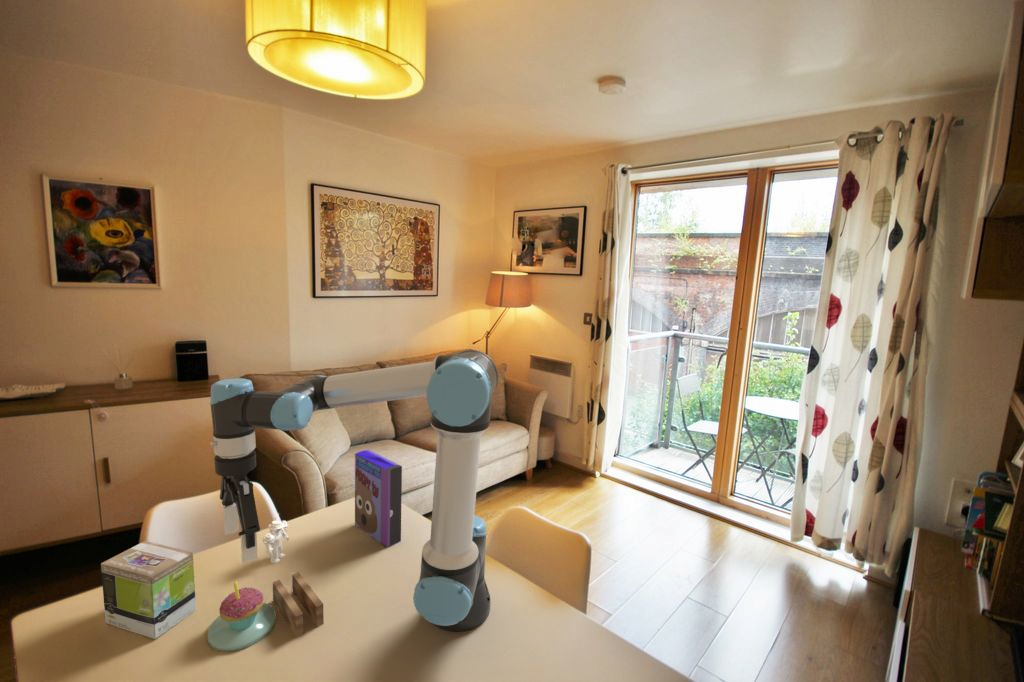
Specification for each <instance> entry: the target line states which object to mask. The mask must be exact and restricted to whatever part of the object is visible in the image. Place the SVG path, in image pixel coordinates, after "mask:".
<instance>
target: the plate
mask: <svg viewBox="0 0 1024 682" xmlns="http://www.w3.org/2000/svg"><path fill="white" fill-rule="evenodd" d="M275 623H276V610H275V609H274V607H273V606H271V605H270V604H268V603H265V602H263V606H262V607H261V608H260V610H259V611H258V612H257V615H256V618H255V621H254V623H253V624H252V625H251V626H250V627H248V628H246V629H244V630H240V631H235V630H232V629H231V628H230V625H229V623H228V622H226V621H225V620H222V619H221V617H220V615H219V616H217V617H216V618H215V620H213V622H212V623H211V624H210V626H209V627H208V630H207V642H208V645H209V647H211V649H214V650H215V651H218V652H234V651H235V652H236V651H240V650H244V649H246V648H249V647H250V646H253V645H254V644H257V643H259V641H261V640H263V639H264V638H265V637H266V636H268V634H269V633H270V632H271V631H272V630H273V627H274V626H275Z"/></svg>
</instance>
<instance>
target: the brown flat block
mask: <svg viewBox="0 0 1024 682" xmlns="http://www.w3.org/2000/svg"><path fill="white" fill-rule="evenodd" d="M291 580H292V581H291V582H292V586H291V587H292V588H291V589H292V594H293V595H294V596H295V598H296V600H297V601H298V602H299V604H300V605H301V606H302V608H303V609H304V611H305V612H306V614H307V615H308V617H309V618H310V619H311V621H312V622H313V623H314V625H315V626H316V627H317V628H318V627H319V626H322V625H323V624H324V602H323V601H322V600H321V598H319V596H318V595H317V594H316V592H315V591H314V590H313V588H312V587H311V586H310V584H309V583H308V582H307V581H306V580H305V578H304V576H303V575H301V573H300V572H299V571H297V572H295V573H292V574H291Z"/></svg>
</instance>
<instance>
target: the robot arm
mask: <svg viewBox="0 0 1024 682" xmlns="http://www.w3.org/2000/svg"><path fill="white" fill-rule="evenodd" d="M498 382H499V370H498V368H497V365H496V363H495V362H494V360H493V359H492V358H491V356H489V355H488V354H486V353H485V352H483V351H480V350H477V349H465V350H461V351H457V352H454V353H450V354H444V355H437V356H435V358H434V359H433V361H426V362H419V363H413V364H412V363H411V364H407V365H406V364H405V365H398V366H392V367H384V368H378V369H371V370H362V371H356V372H348V373H343V374H335V375H328V376H326V375H319V374H318V375H315V376H310V377H307V378H305V379H304V380H301V381H299V382H297V383H295V384H292V385H289V386H287V387H284V388H283V389H280V390H278V391H261V390H255V389H254V385H253V382H252V380H251V379H246V378H241V377H239V378H238V377H237V378H226V379H221V380H219V381H216V382H214V383H213V384H212V385H211V387H210V402H209V405H210V412H211V419H212V420H211V421H212V422H211V423H212V438H213V441H210V442H209V444H210V446H211V447H213V451H214V452H213V453H214V455H215V456H214V459H213V460H214V471H215V474H217V476H221V483H220V489H219V490H220V491H219V499H220V501H221V504H222V512H223V513H222V515H223V527H224V529H223V530H224V535H225V536H229V535H231V534H234V533H237V532H238V537H240V548H241V562H242V564H245V563H248V562H251V561H254V560H257V559H258V558H259V555H258V538H257V537H258V536H257V535H258V534H257V533H258V532H260V531H261V527H260V523H259V517H258V516H259V515H258V512H257V511H258V510H257V506H256V500H255V495H254V483H253V482H252V481H251V480H250V477H248V476H247V475H248V474H249V473H250V472H252V471H254V469H256V467H257V451H256V450H255V449H256V448H257V444H256V442H257V441H256V430H255V428H257V429H268V430H269V429H270V430H281V431H285V432H287V431H300V430H302V429H305V427H307V425H308V423H309V422H310V421H311V418H312V417H313V413H315V412H318V411H323V410H330V409H336V408H344V407H345V408H346V407H350V406H351V407H352V406H358V405H359V406H360V405H367V404H374V403H382V402H390V401H397V400H405V399H412V398H420V397H426V403H427V405H428V406H427V407H428V408H429V410H430V426H431V427H432V428H433V429H434V430H435V431H436V432H437V438H436V455H435V468H434V482H433V483H434V484H433V495H432V496H433V497H432V498H433V499H432V510H431V511H432V512H431V513H432V514H431V527H430V539H429V540H427V541H426V542H424V544H423V547H422V551H421V559H420V560H421V562H420V575H419V579H418V582H417V583H416V584H415V586H414V592H413V596H412V597H413V606H414V608H415V610H416V611H417V613H418V614H419V615H420V616H422V618H423V619H424V620H426V621H427V622H428V623H431V624H434V625H435V626H437V627H439V628H441V629H443V630H445V631H451V632H465V631H469V630H472V629H474V628H477V627H478V626H480V625H481V624H483V623H484V622H485V621H486V619H487V618H488V617H489V615H490V611H491V595H490V591H489V588H488V585H487V582H486V579H485V574H486V573H485V570H486V568H485V567H486V550H487V549H486V546H487V535H488V532H487V523H486V521H485V520H484V519H483V518H482V517H480V516H478V515H476V514H475V512H476V500H477V488H478V487H477V486H478V476H479V465H480V464H479V463H480V452H481V439H482V438H481V437H482V434H485V432H486V431H488V430H489V428H490V423H491V422H490V421H491V412H492V404H493V403H492V399H493V395H494V393H495V390H496V389H497V386H498ZM239 524H240V525H239ZM240 528H241V531H240Z"/></svg>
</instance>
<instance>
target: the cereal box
mask: <svg viewBox="0 0 1024 682" xmlns="http://www.w3.org/2000/svg"><path fill="white" fill-rule="evenodd" d="M402 481H403V466H402V465H400V464H399V463H396V462H395V461H392V460H390V459H389V458H387V457H384V456H382V455H380V454H378V453H376V452H374V451H372V450H369V449H365V450H361V451H359V452H356V453H354V526H355V527H357V528H358V529H360V530H361V531H363V533H366V534H367V535H368V536H370V537H371V538H372V539H374V540H375V541H377V542H378V543H379V544H381V545H383V546H384V547H385V548H387V549H388V548H390V547H392V546H394V545H396V544H398V543H401V541H402V497H403V496H402V492H403V491H402V489H403V487H402V484H403V482H402Z"/></svg>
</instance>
